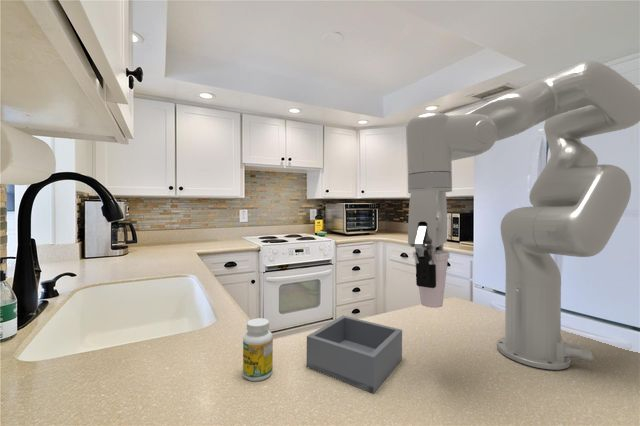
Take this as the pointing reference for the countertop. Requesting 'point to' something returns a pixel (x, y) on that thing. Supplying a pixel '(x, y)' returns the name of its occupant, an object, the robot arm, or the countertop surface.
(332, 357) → the box
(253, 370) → the supplement bottle
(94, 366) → the countertop surface
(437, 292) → the smoothie
